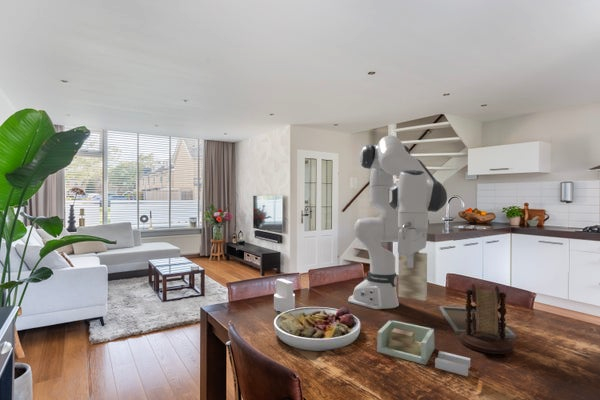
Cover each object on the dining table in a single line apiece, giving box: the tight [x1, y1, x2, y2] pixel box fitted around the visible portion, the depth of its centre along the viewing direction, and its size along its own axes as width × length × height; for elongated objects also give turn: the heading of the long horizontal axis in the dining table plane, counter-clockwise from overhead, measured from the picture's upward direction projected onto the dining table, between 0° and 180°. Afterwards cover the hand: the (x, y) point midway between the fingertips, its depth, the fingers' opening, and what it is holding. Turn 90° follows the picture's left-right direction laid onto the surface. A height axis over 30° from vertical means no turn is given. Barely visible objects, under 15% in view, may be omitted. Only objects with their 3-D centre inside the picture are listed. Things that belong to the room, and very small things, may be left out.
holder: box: [434, 350, 471, 377], centre depth 90 cm, size 8×6×3 cm
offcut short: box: [391, 328, 414, 344], centre depth 100 cm, size 6×3×2 cm, turn 57°
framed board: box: [439, 305, 517, 340], centre depth 127 cm, size 19×2×30 cm
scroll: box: [459, 283, 514, 358], centre depth 104 cm, size 15×15×20 cm
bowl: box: [273, 306, 361, 352], centre depth 114 cm, size 30×30×8 cm
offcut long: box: [390, 338, 421, 356], centre depth 99 cm, size 9×3×3 cm, turn 57°
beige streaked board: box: [397, 252, 428, 302], centre depth 101 cm, size 8×2×14 cm, turn 56°
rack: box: [376, 319, 435, 366], centre depth 100 cm, size 14×12×7 cm
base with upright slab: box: [273, 278, 296, 313], centre depth 140 cm, size 9×9×12 cm
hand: (412, 266), depth 101 cm, fingers closed on beige streaked board, 2 cm apart
